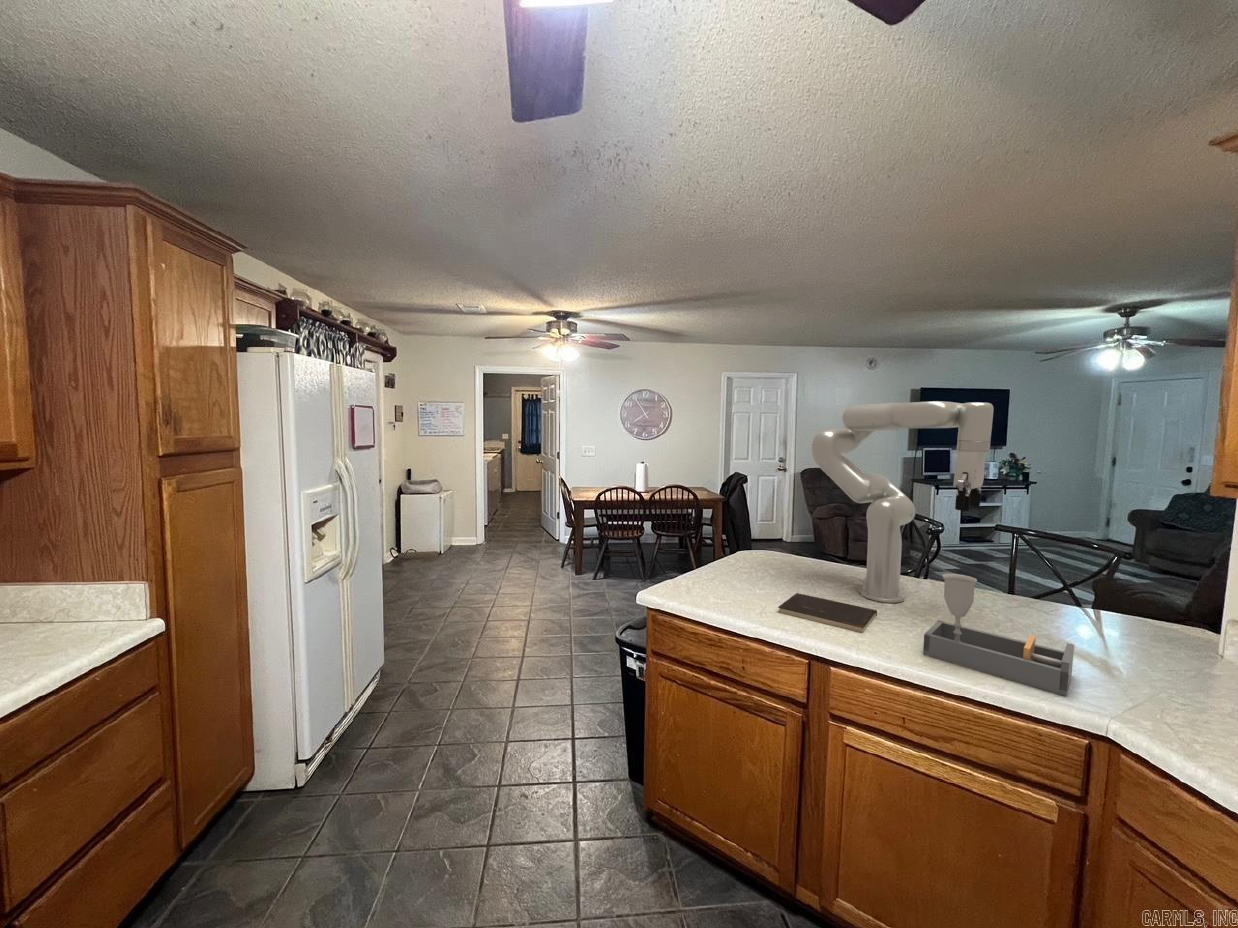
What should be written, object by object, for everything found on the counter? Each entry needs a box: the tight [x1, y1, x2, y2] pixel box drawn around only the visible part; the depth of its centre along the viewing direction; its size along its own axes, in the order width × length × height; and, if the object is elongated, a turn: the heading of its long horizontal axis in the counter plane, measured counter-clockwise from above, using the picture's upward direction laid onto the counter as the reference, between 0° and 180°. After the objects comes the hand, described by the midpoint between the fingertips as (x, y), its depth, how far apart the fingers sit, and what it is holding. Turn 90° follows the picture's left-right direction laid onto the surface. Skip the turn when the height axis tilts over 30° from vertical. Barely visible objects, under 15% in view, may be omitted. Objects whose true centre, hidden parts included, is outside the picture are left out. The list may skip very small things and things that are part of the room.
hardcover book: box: [777, 592, 878, 633], centre depth 148 cm, size 16×23×2 cm
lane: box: [922, 619, 1075, 697], centre depth 117 cm, size 26×12×7 cm, turn 45°
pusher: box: [1023, 634, 1062, 666], centre depth 111 cm, size 6×9×6 cm
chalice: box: [942, 573, 978, 642], centre depth 120 cm, size 7×7×18 cm
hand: (967, 508), depth 142 cm, fingers open, 9 cm apart
